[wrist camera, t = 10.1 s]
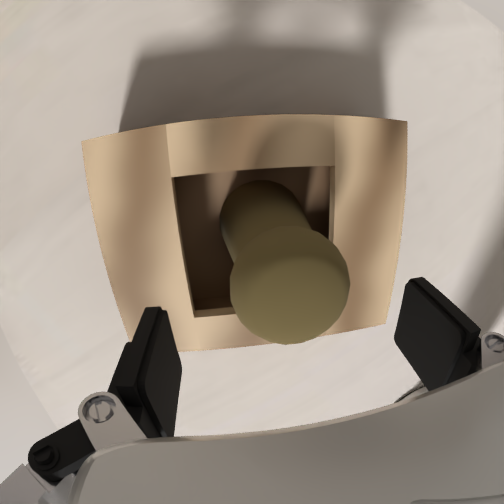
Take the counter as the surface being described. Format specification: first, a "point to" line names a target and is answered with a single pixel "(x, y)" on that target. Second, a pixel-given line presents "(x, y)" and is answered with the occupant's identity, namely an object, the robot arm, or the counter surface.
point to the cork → (281, 265)
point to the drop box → (214, 195)
